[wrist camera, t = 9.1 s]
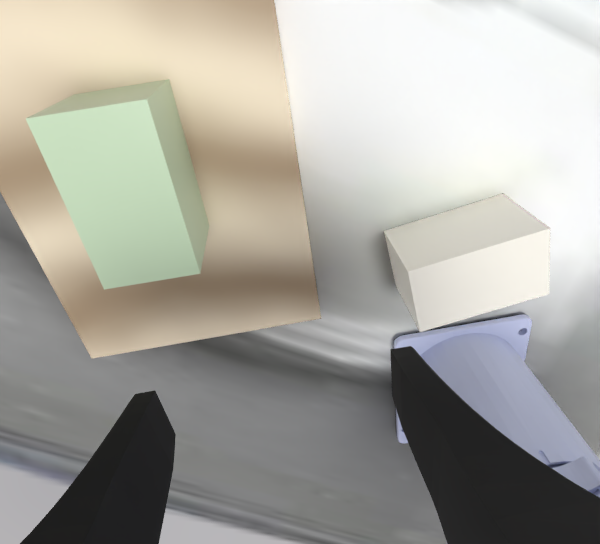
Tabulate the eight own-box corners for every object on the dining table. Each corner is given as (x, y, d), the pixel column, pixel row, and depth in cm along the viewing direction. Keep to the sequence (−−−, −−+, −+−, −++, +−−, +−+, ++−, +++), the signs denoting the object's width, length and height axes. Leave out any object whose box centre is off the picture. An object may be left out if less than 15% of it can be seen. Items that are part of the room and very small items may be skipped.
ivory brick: (501, 192, 21) (550, 228, 18) (504, 251, 23) (548, 294, 19) (383, 229, 21) (408, 271, 18) (395, 284, 23) (419, 332, 20)
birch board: (318, 305, 23) (321, 318, 22) (98, 343, 23) (91, 358, 22) (250, -145, 14) (250, -157, 13) (-124, -83, 14) (-154, -90, 13)
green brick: (209, 225, 19) (200, 273, 16) (130, 238, 19) (103, 289, 15) (169, 79, 16) (146, 98, 12) (74, 94, 16) (25, 118, 12)
